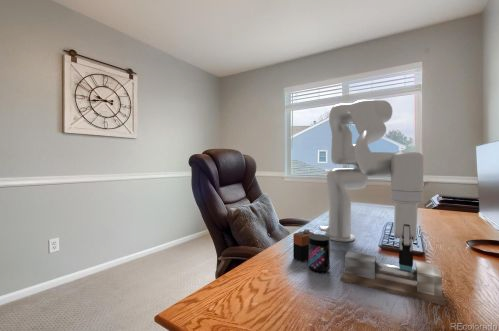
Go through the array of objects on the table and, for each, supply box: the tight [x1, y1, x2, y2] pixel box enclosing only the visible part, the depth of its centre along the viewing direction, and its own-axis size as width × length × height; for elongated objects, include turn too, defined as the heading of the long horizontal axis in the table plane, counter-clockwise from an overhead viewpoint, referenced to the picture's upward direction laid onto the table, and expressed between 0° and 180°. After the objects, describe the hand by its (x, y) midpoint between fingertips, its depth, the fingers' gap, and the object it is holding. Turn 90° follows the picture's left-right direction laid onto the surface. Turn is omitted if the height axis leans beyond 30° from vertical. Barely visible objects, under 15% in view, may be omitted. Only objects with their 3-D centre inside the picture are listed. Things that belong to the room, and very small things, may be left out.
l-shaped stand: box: [375, 240, 417, 282], centre depth 69 cm, size 16×3×10 cm, turn 59°
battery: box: [292, 228, 315, 263], centre depth 87 cm, size 4×7×10 cm, turn 127°
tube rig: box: [340, 250, 447, 306], centre depth 70 cm, size 24×12×6 cm, turn 59°
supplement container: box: [307, 233, 331, 274], centre depth 78 cm, size 7×7×10 cm
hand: (405, 262), depth 68 cm, fingers closed on l-shaped stand, 3 cm apart
